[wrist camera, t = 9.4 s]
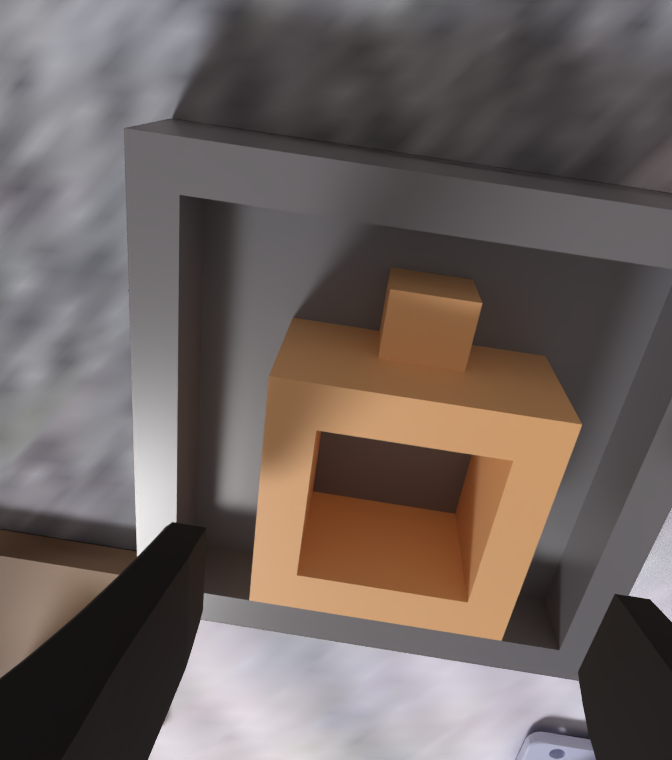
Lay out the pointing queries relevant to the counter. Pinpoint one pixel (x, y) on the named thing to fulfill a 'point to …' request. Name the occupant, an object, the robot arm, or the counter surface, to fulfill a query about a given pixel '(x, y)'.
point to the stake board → (48, 587)
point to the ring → (419, 428)
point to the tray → (364, 310)
